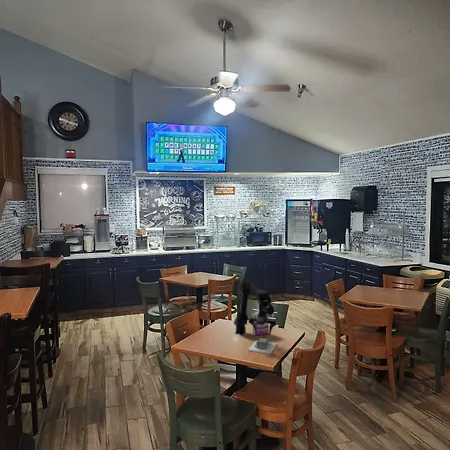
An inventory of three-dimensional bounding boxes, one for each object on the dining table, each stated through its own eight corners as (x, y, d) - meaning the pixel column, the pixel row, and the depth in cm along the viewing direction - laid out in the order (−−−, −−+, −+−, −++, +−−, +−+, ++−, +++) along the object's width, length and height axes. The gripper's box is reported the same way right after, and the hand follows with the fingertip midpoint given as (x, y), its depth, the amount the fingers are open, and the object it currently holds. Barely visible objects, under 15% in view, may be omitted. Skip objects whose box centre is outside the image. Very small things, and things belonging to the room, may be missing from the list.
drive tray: (248, 350, 254) (248, 346, 253) (255, 341, 270) (255, 337, 270) (270, 353, 248) (270, 349, 248) (276, 344, 265) (276, 340, 265)
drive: (256, 348, 256) (256, 342, 255) (260, 343, 265) (260, 337, 265) (265, 349, 254) (265, 343, 253) (269, 344, 263) (269, 338, 263)
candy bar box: (265, 332, 291) (265, 310, 290) (268, 334, 287) (268, 312, 286) (252, 334, 287) (252, 312, 286) (255, 336, 282) (255, 314, 282)
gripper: (246, 312, 254) (246, 336, 255) (273, 315, 247) (273, 339, 248) (251, 308, 264) (251, 331, 265) (277, 311, 258) (277, 334, 258)
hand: (263, 334), depth 259 cm, fingers open, 9 cm apart
